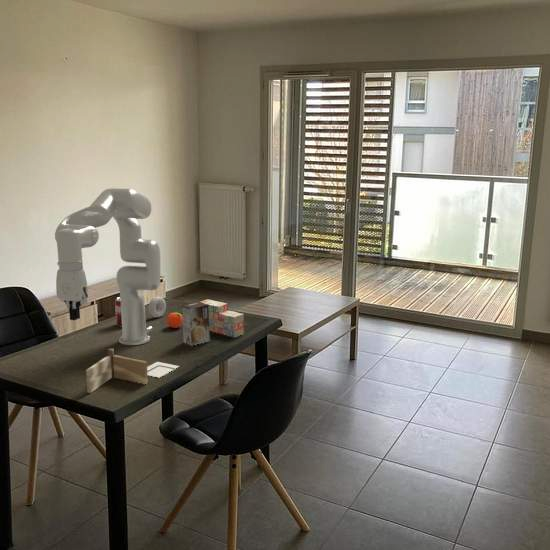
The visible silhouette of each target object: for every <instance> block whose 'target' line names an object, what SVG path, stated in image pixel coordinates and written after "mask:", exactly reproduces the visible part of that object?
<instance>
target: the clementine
mask: <svg viewBox="0 0 550 550" xmlns="http://www.w3.org/2000/svg"><path fill="white" fill-rule="evenodd" d="M166 324H167V326H169V328H172V329H178V328H180V326H182V325H183V318H182V314H181V313H179V312H176V311H175V312H171V313H169V314H168V315H167V317H166Z"/></svg>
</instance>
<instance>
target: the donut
mask: <svg viewBox="0 0 550 550" xmlns="http://www.w3.org/2000/svg"><path fill="white" fill-rule="evenodd" d="M157 305H158V309H156V307H157ZM166 308H167V304H166V301H165V298H163V297H161V296H155V297H152V298H151V299H150V301H149V304H148V313H149V315H150V316H151V317H152V318H154V319H155V318H157V317H158V318H161V317H162V316H163V315H164V314H165V312H166Z"/></svg>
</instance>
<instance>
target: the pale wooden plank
mask: <svg viewBox="0 0 550 550" xmlns="http://www.w3.org/2000/svg"><path fill="white" fill-rule="evenodd" d="M85 375H86V386H87V387H86V388H87V394H88V393H89V394H91V393H93V392H94V391H95V390H97V389H99V387H101V386H103V385H104V384H105V383H106V382H108V381H109V380H111V379H112V378H113V377H112V367H111V356H108V355H107V356H105V357H103V358H102V359H100V360H99V361H98V362H96V363H94V364H93V365H92V366H90V367H88V368H87V369H86V370H85Z"/></svg>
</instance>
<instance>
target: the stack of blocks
mask: <svg viewBox="0 0 550 550" xmlns="http://www.w3.org/2000/svg"><path fill="white" fill-rule="evenodd" d="M200 302H202V303H205V304H208V308H209V332H210V331H213V332H212V333H214V332H216V333H215V334H218V333H220V334H219V335H222V334H223V335H222V336H225V335H227V336H226V337H229V336H230V337H229V338H233V339H235V338H237V337H241V336H243V335H244V333H245V332H244V326H245V323H244V320H245V316H244V315H245V314H244V313H240V312H237V311H233V310H229V304H228V303H226V302H223V301H222V302H221V301H217V300H213V299H204V300H201V301H200ZM240 335H241V336H240Z"/></svg>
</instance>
